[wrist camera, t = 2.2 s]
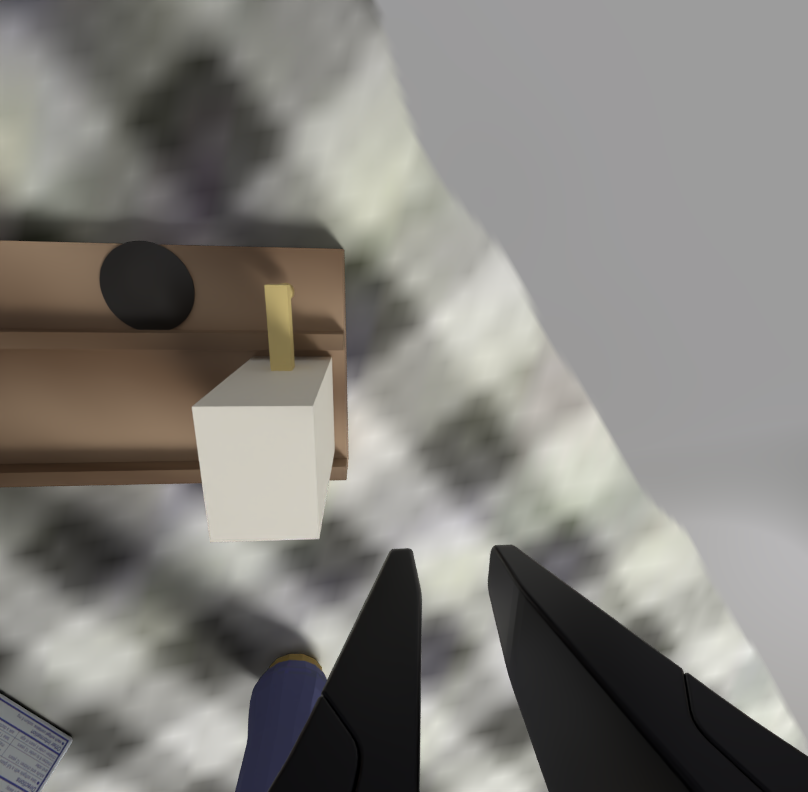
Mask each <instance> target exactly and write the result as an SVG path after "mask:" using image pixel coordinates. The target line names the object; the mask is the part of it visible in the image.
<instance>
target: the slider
mask: <svg viewBox="0 0 808 792" xmlns="http://www.w3.org/2000/svg"><path fill="white" fill-rule="evenodd" d="M264 288H265V301H266V314H267V328H268V341H269V354H270V356H253V357H252V358H251V359H250V360H248V361H247V362H246V363H245V364H243V365H242V366H241V367H240V368H238V369H237V370H236V371H235V372H234V373H232V374H231V375H230V376H229V377H227V378H226V379H225V380H224V381H223V382H221V383H220V384H219V385H218V386H216V387H215V388H214V389H213V390H212V391H210V392H209V393H208V394H207V395H205V396H204V397H203V398H202V399H201V400H199V401H198V402H197V403H196V404H194V405H193V406H192V413H193V420H194V427H195V435H196V442H197V449H198V457H199V464H200V471H201V479H202V486H203V493H204V501H205V508H206V515H207V523H208V530H209V537H210V542H238V541H269V540H300V539H319V537H320V531H321V525H322V520H323V514H324V508H325V503H326V497H327V491H328V486H329V480H330V474H331V469H332V463H333V457H334V452H335V442H334V409H333V377H332V357H294V343H293V326H292V308H291V298H293V296H294V293H295V291H294V288H293V286H292V285H291V284H289V283H281V284H266V285H264Z"/></svg>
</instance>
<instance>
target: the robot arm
mask: <svg viewBox="0 0 808 792" xmlns="http://www.w3.org/2000/svg"><path fill="white" fill-rule="evenodd" d="M488 591H489V596H490V600H491V604H492V609H493V613H494V617H495V621H496V626H497V630H498V634H499V638H500V643H501V647H502V651H503V655H504V660H505V664H506V667H507V671H508V675H509V678H510V681H511V685H512V688H513V691H514V694H515V696H516V699H517V702H518V705H519V708H520V711H521V714H522V717H523V719H524V722H525V725H526V728H527V731H528V734H529V737H530V739H531V742H532V745H533V748H534V751H535V754H536V757H537V760H538V762H539V765H540V768H541V771H542V774H543V777H544V780H545V783H546V785H547V788H548V791H549V792H808V756H807V755H805V754H804V753H802V752H801V751H799V750H798V749H796V748H795V747H793V746H792V745H790V744H789V743H787V742H786V741H784V740H783V739H781V738H780V737H778V736H777V735H775V734H774V733H772V732H771V731H769V730H768V729H766V728H765V727H763V726H762V725H760V724H759V723H757V722H756V721H754V720H753V719H751V718H750V717H749V716H747V715H746V714H744V713H743V712H742V711H740V710H739V709H737V708H736V707H735V706H733V705H732V704H730V703H729V702H728V701H726V700H725V699H723V698H722V697H720V696H719V695H718V694H716V693H715V692H713V691H712V690H711V689H709V688H708V687H707V686H705V685H704V684H703V683H701V682H700V681H698V680H697V679H696V678H694V677H693V676H692V675H690V674H689V673H685V674H684V672H683V670H682V668H680V667H679V666H678V665H676V664H675V663H674V662H672V661H671V660H670V659H668V658H667V657H665V656H664V655H663V654H661V653H660V652H659V651H657V650H656V649H655V648H653V647H652V646H651V645H649V644H648V643H646V642H645V641H644V640H642V639H641V638H640V637H638V636H637V635H636V634H634V633H633V632H631V631H630V630H629V629H627V628H626V627H625V626H623V625H622V624H621V623H619V622H618V621H616V620H615V619H614V618H612V617H611V616H610V615H608V614H607V613H606V612H604V611H603V610H601V609H600V608H599V607H597V606H596V605H595V604H593V603H592V602H591V601H589V600H588V599H586V598H585V597H584V596H582V595H581V594H580V593H578V592H577V591H576V590H574V589H573V588H572V587H570V586H569V585H567V584H566V583H565V582H563V581H562V580H561V579H559V578H558V577H557V576H555V575H554V574H552V573H551V572H550V571H548V570H547V569H546V568H544V567H543V566H542V565H540V564H539V563H537V562H536V561H535V560H533V559H532V558H531V557H529V556H528V555H527V554H525V553H524V552H522V551H521V550H520V549H518V548H517V547H515V546H514V545H495V546H494V547H493V548H492V550H491V554H490V564H489V574H488ZM421 636H422V594H421V588H420V583H419V578H418V574H417V569H416V564H415V560H414V555H413V551H412V550H411V549H409V548H406V549H392V550H391V551H390V552H389V554H388V556H387V558H386V560H385V562H384V564H383V566H382V568H381V570H380V572H379V574H378V576H377V578H376V581H375V583H374V585H373V587H372V589H371V591H370V593H369V595H368V597H367V599H366V601H365V603H364V605H363V607H362V609H361V611H360V613H359V616H358V618H357V620H356V622H355V624H354V626H353V628H352V630H351V632H350V634H349V636H348V638H347V640H346V642H345V644H344V646H343V648H342V650H341V653H340V655H339V657H338V659H337V661H336V663H335V665H334V667H333V669H332V671H331V673H330V675H329V677H328V679H327V681H326V683H325V685H324V688H323V690H322V692H321V696H320V697H319V698H318V699H317V701H316V703H315V705H314V707H313V710H312V712H311V714H310V716H309V718H308V720H307V722H306V724H305V726H304V728H303V729H302V731H301V733H300V735H299V737H298V739H297V741H296V743H295V745H294V747H293V748H292V750H291V752H290V754H289V756H288V758H287V760H286V761H285V763H284V765H283V766H282V768H281V770H280V771H279V773H278V775H277V776H276V778H275V780H274V781H273V783H272V785H271V786H270V788H269V790H268V792H420V719H421Z"/></svg>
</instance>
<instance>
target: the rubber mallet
mask: <svg viewBox="0 0 808 792" xmlns="http://www.w3.org/2000/svg"><path fill="white" fill-rule="evenodd" d="M326 681H327V679H326V677H325V675H324V672H322V667H321V666H320V665H319V664H318V662H317V661H316V660H315V659H314V658H311V657H309V656H307V655H304V654H288V655H285V656H282V657H280V658H277V659H276V660H275V661H274V662H273V663H272V664H271V665H270V666H269V669H268V670H267V671H266V672H265V673H264V674H263V675H262V677H261V678H260V679H259V681H258V682H257V683H256V685H255V686H254V689H253V692H252V696H251V700H250V707H249V718H248V739H247V745H246V749H245V754H244V758H243V762H242V766H241V770H240V774H239V778H238V782H237V786H236V790H235V792H268V790H269V788H270V786H271V785H272V783H273V781H274V780H275V778H276V776H277V775H278V773H279V771H280V770H281V768H282V766H283V765H284V763H285V761H286V760H287V758H288V756H289V754H290V752H291V750H292V748H293V747H294V745H295V743H296V741H297V739H298V737H299V735H300V733H301V731H302V729H303V728H304V726H305V724H306V722H307V720H308V718H309V716H310V714H311V712H312V710H313V707H314V705H315V703H316V701H317V699H318V698H319V697H320V696H321V692H322V690H323V688H324V685H325V683H326Z"/></svg>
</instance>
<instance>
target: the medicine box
mask: <svg viewBox="0 0 808 792" xmlns="http://www.w3.org/2000/svg"><path fill="white" fill-rule="evenodd" d="M72 740H73V739H72V737H70V736H68V735H67V734H65V733H63V732H62V731H60V730H59V729H57V728H55V727H54V726H52V725H50V724H49V723H47V722H46V721H44V720H42V719H41V718H39V717H37V716H36V715H34V714H33V713H31V712H29V711H28V710H26V709H24V708H23V707H21V706H20V705H18V704H16V703H15V702H13V701H12V700H10V699H9V698H7V697H5V696H4V695H2V694H0V792H41V791H42V790H43V788H44V786H45V785H46V783H47V781H48V780H49V778H50V776H51V775H52V773H53V772H54V770H55V768H56V767H57V765H58V764H59V762H60V760H61V759H62V757H63V756H64V754H65V752H66V751H67V749H68V748H69V746H70V744H71V743H72Z"/></svg>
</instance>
